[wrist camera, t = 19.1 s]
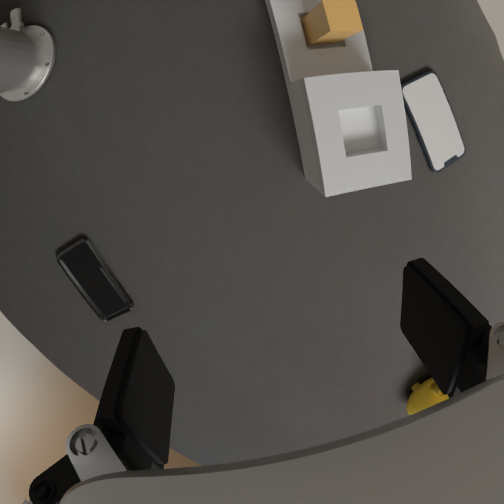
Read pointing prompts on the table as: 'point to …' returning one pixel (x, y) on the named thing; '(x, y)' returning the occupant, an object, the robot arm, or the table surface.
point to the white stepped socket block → (341, 107)
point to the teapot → (424, 396)
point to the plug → (331, 22)
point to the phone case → (432, 120)
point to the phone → (94, 280)
